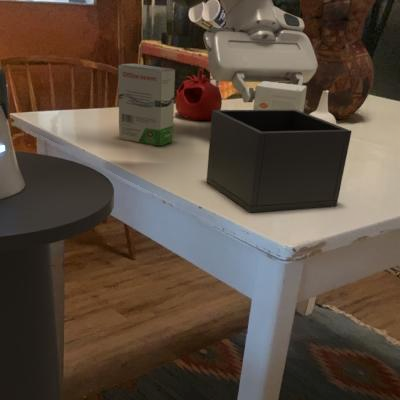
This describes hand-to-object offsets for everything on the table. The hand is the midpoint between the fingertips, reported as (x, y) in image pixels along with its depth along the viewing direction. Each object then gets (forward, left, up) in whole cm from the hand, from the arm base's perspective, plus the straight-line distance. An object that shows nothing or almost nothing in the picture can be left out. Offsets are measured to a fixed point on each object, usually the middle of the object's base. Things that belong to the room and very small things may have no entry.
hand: (273, 100), depth 105 cm
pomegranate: (-3, +25, -8) cm, 26 cm away
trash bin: (-14, -25, -8) cm, 30 cm away
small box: (0, -2, -8) cm, 8 cm away
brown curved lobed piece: (+29, +27, -8) cm, 40 cm away
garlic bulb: (+17, +9, -8) cm, 21 cm away
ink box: (-21, +7, -8) cm, 23 cm away
